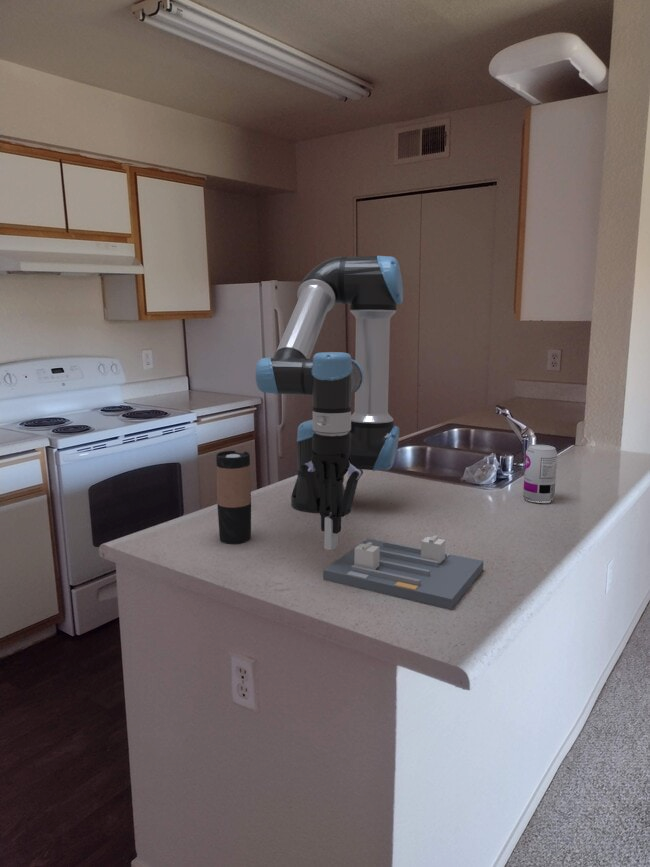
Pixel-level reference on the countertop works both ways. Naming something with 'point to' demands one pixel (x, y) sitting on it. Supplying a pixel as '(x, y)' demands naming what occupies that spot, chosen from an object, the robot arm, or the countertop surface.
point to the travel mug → (234, 496)
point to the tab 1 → (367, 556)
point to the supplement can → (540, 473)
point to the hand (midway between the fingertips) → (330, 547)
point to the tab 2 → (433, 548)
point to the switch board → (408, 574)
